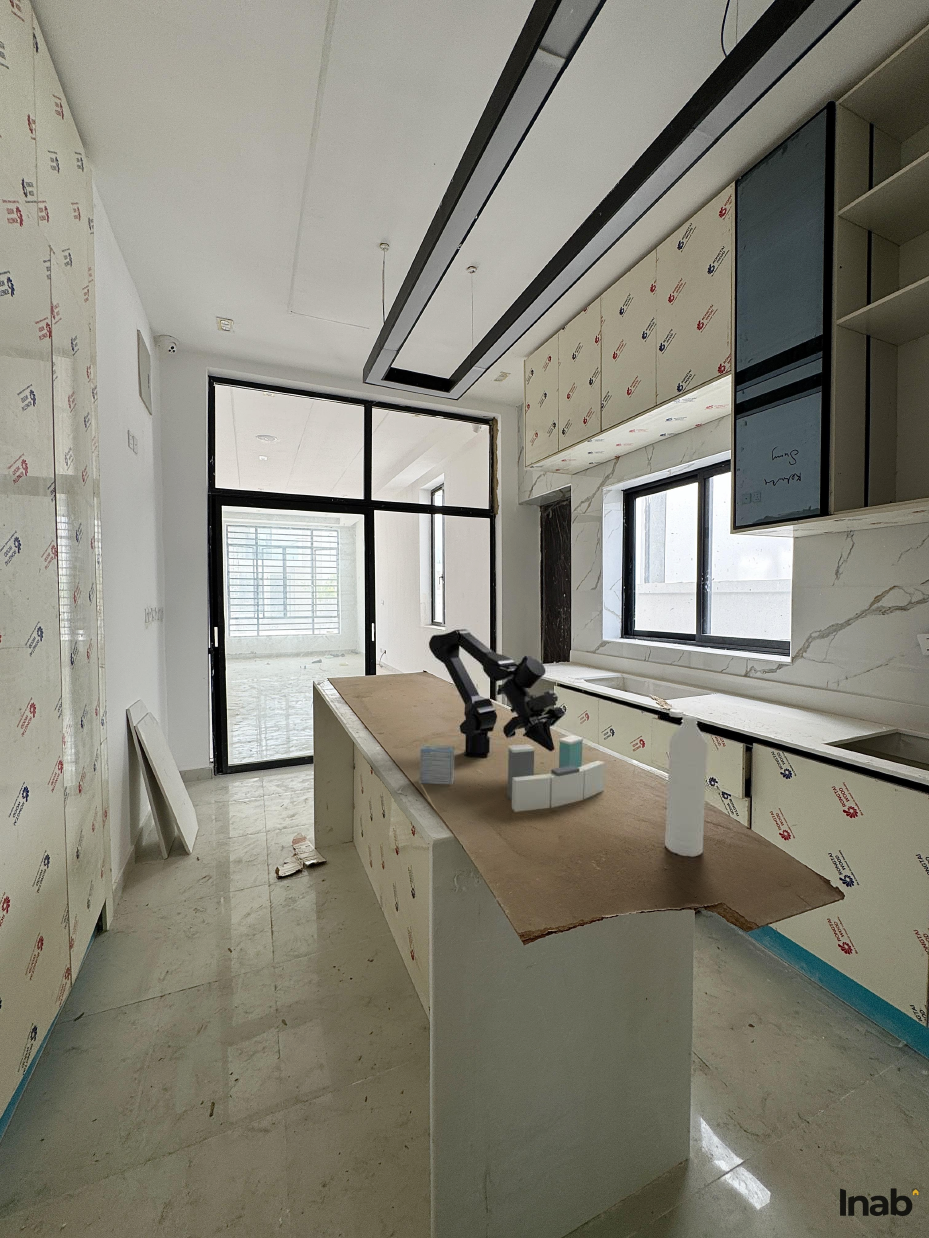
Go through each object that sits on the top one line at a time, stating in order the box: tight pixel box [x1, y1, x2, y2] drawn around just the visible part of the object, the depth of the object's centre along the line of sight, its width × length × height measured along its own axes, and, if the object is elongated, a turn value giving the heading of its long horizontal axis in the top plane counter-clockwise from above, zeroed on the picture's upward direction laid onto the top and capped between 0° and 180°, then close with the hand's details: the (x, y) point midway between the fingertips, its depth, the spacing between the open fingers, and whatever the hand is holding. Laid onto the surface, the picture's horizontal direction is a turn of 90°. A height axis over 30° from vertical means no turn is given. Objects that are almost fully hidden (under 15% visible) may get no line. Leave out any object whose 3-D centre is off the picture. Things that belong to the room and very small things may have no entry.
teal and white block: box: [558, 734, 584, 768], centre depth 126 cm, size 3×5×12 cm, turn 132°
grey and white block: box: [507, 743, 536, 801], centre depth 119 cm, size 3×5×12 cm, turn 107°
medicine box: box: [419, 744, 455, 786], centre depth 128 cm, size 8×4×9 cm, turn 84°
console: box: [511, 760, 606, 813], centre depth 118 cm, size 26×4×8 cm, turn 120°
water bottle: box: [664, 708, 708, 858], centre depth 98 cm, size 9×6×25 cm
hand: (552, 750), depth 130 cm, fingers closed
